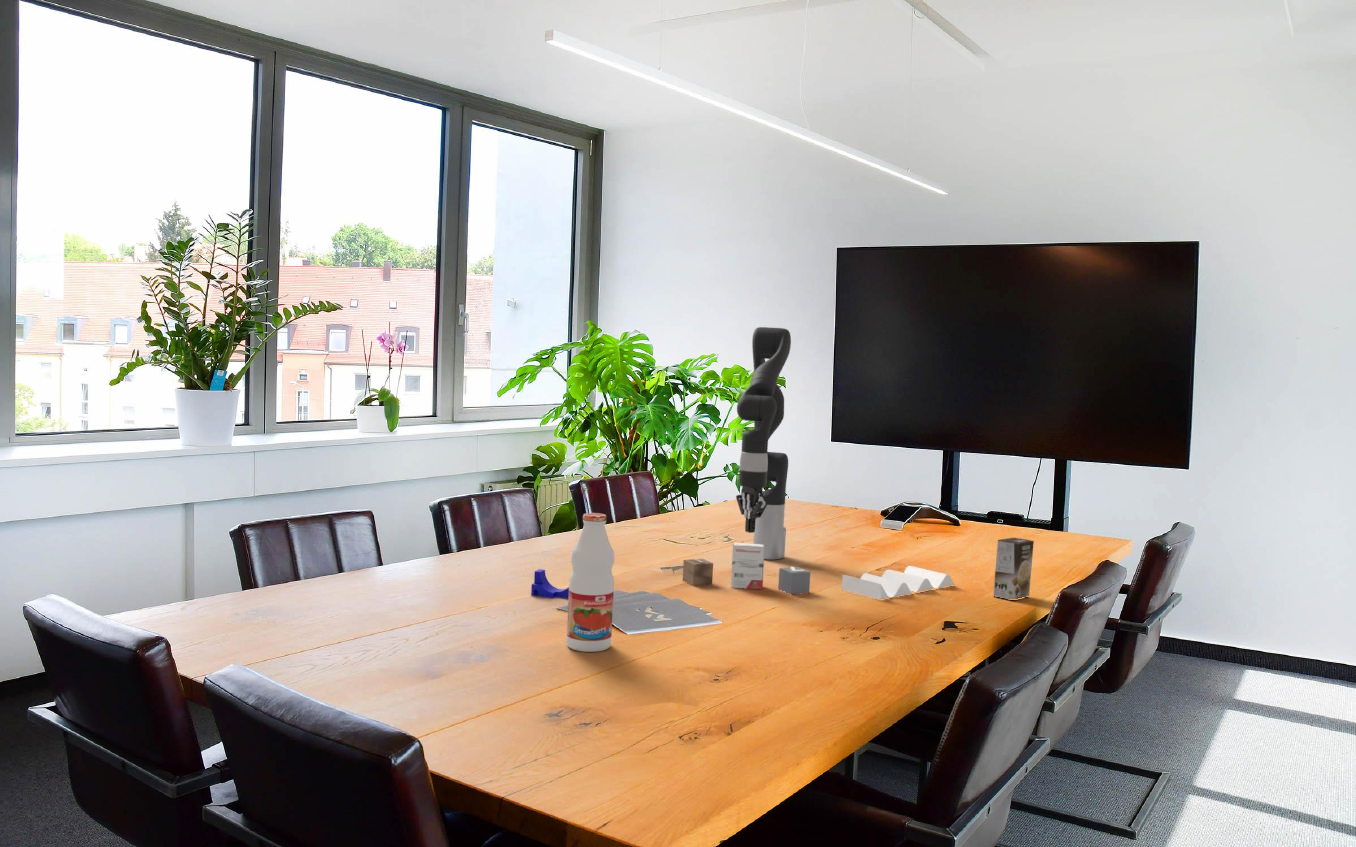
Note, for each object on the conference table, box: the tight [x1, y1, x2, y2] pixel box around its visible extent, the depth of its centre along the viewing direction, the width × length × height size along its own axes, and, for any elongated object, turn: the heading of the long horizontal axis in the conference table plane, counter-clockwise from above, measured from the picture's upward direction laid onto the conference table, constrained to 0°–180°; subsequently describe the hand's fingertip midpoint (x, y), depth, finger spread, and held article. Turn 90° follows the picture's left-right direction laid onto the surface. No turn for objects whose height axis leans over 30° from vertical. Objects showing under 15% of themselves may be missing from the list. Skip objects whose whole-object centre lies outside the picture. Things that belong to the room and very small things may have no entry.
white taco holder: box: [841, 565, 955, 600], centre depth 278 cm, size 13×35×5 cm, turn 131°
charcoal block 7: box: [777, 566, 811, 595], centre depth 267 cm, size 6×6×6 cm
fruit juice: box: [566, 512, 615, 653], centre depth 207 cm, size 9×9×28 cm
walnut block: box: [682, 558, 714, 587], centre depth 271 cm, size 6×6×6 cm
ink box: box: [730, 542, 765, 591], centre depth 269 cm, size 9×5×12 cm, turn 84°
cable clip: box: [530, 568, 569, 599], centre depth 249 cm, size 12×4×6 cm, turn 74°
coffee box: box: [992, 537, 1035, 599], centre depth 273 cm, size 9×6×16 cm
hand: (749, 532), depth 269 cm, fingers closed
